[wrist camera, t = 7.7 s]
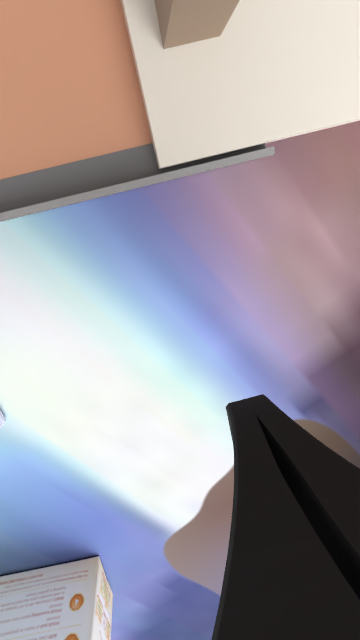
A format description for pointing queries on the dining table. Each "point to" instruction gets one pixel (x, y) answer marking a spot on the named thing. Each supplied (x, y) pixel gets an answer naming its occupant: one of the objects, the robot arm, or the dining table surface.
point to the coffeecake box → (57, 603)
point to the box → (76, 109)
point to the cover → (242, 71)
